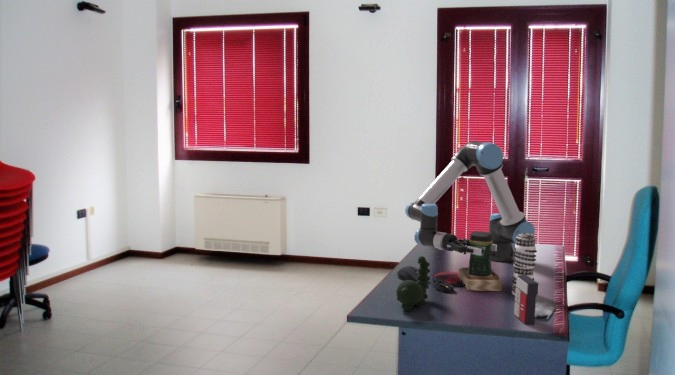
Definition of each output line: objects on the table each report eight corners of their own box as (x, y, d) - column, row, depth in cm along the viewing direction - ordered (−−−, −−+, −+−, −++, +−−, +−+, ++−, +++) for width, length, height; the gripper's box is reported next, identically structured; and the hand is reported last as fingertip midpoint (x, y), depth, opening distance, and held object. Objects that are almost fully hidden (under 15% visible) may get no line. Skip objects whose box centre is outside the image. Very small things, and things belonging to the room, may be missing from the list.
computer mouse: (406, 274, 289) (406, 262, 288) (461, 291, 263) (461, 278, 263) (391, 277, 283) (391, 265, 282) (445, 295, 258) (446, 282, 257)
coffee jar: (492, 273, 276) (495, 231, 273) (489, 277, 268) (491, 234, 266) (470, 270, 280) (472, 229, 277) (466, 274, 272) (468, 232, 270)
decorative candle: (535, 292, 263) (539, 233, 260) (532, 298, 255) (536, 237, 251) (512, 289, 267) (516, 230, 264) (509, 295, 258) (512, 234, 255)
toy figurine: (411, 300, 254) (388, 312, 232) (414, 253, 254) (391, 260, 231) (434, 304, 250) (413, 316, 228) (437, 256, 250) (416, 263, 227)
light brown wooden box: (489, 277, 284) (490, 266, 284) (501, 290, 264) (502, 278, 264) (458, 277, 284) (458, 265, 283) (467, 290, 264) (468, 278, 264)
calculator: (512, 314, 234) (515, 274, 232) (524, 314, 234) (526, 274, 232) (524, 325, 223) (526, 283, 221) (536, 324, 224) (538, 283, 222)
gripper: (460, 246, 294) (502, 254, 279) (429, 253, 277) (472, 263, 262) (461, 230, 293) (503, 237, 278) (430, 236, 276) (473, 245, 261)
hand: (488, 250), depth 270 cm, fingers open, 11 cm apart
